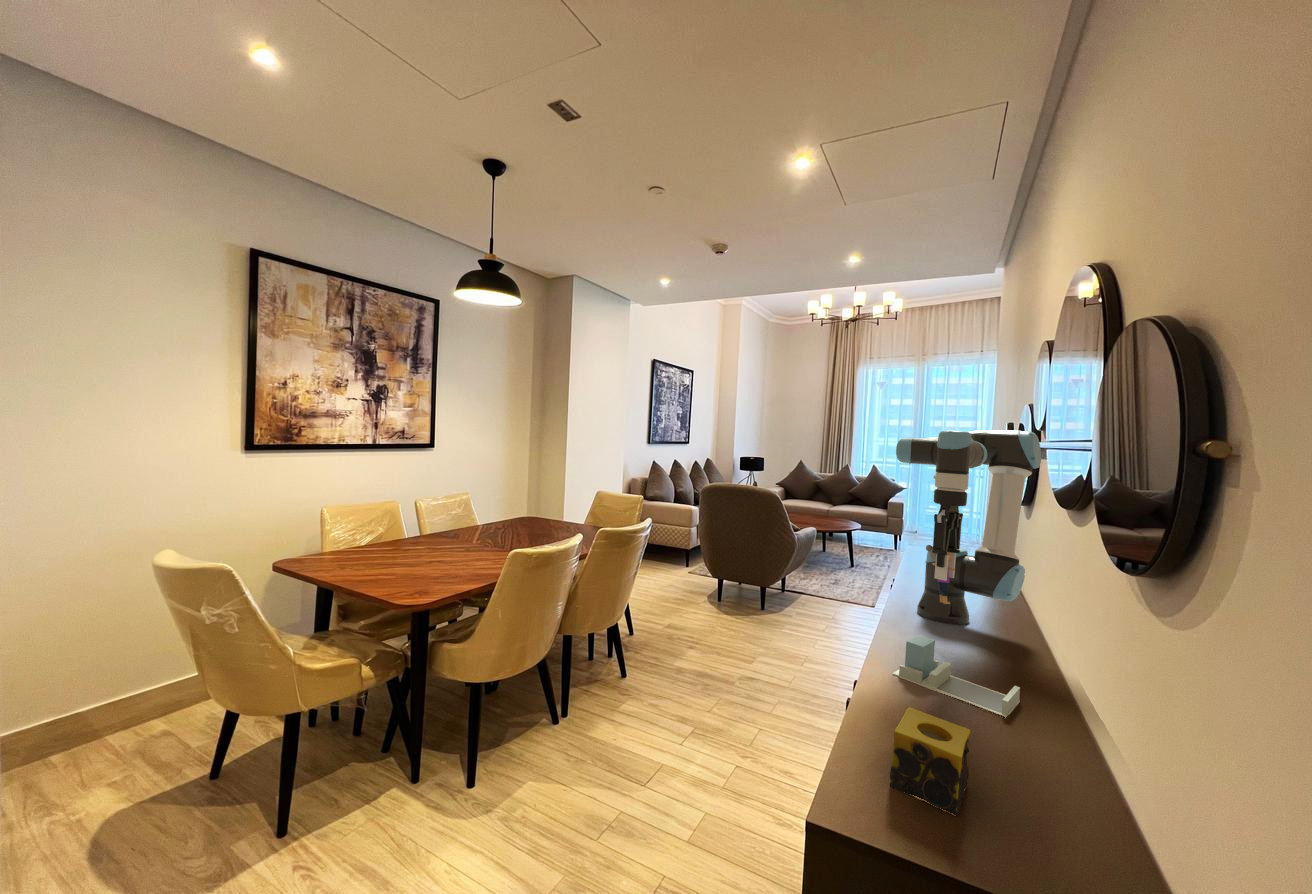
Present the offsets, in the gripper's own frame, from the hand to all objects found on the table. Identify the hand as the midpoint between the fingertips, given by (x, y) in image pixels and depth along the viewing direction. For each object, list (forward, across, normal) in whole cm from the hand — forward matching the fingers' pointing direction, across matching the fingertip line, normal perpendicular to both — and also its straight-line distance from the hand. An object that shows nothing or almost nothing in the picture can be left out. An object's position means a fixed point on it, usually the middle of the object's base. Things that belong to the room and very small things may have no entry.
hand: (944, 577), depth 132 cm
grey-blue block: (+22, +13, 0) cm, 25 cm away
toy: (+7, +1, 0) cm, 7 cm away
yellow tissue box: (+24, +54, +18) cm, 62 cm away
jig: (+22, +13, +8) cm, 27 cm away
